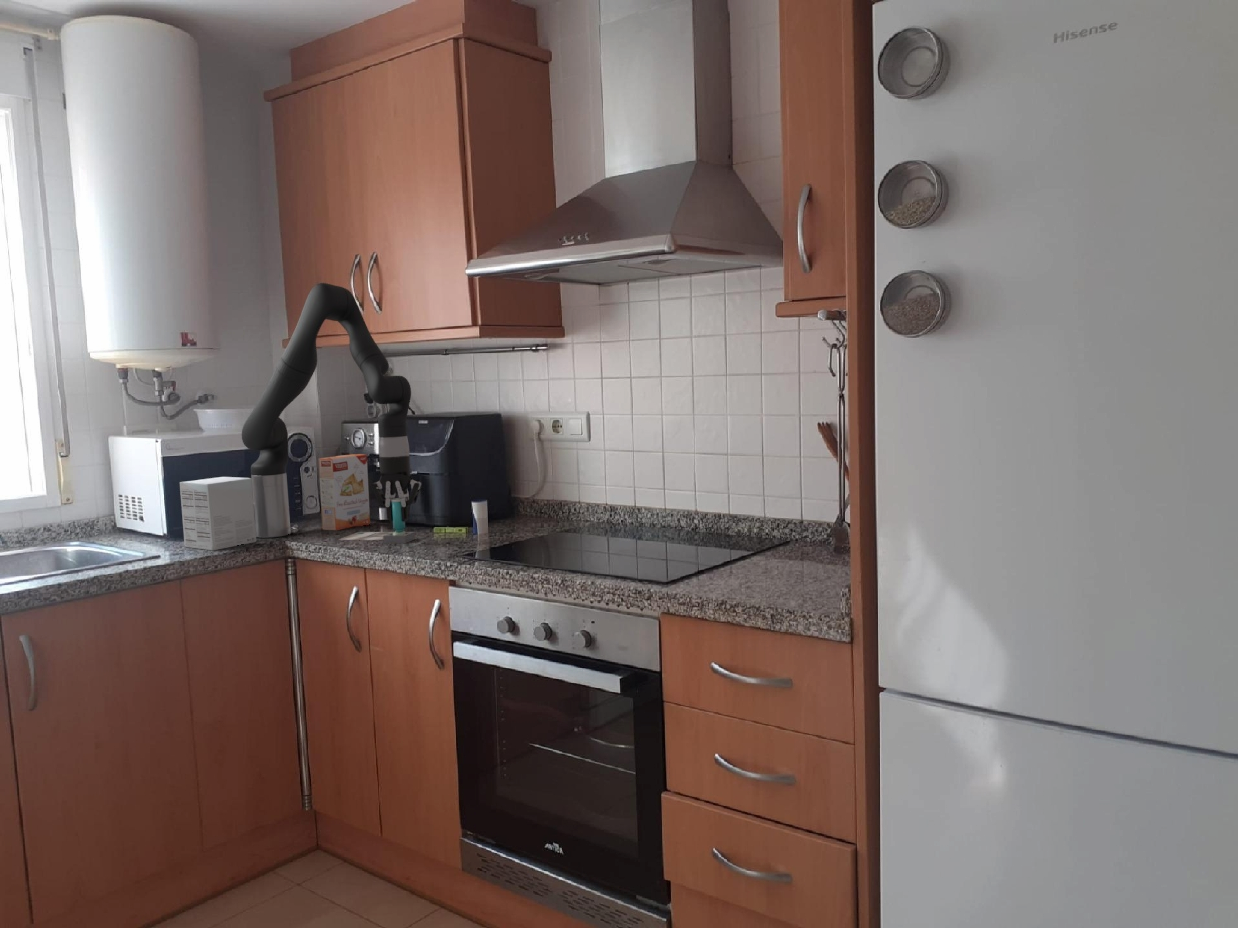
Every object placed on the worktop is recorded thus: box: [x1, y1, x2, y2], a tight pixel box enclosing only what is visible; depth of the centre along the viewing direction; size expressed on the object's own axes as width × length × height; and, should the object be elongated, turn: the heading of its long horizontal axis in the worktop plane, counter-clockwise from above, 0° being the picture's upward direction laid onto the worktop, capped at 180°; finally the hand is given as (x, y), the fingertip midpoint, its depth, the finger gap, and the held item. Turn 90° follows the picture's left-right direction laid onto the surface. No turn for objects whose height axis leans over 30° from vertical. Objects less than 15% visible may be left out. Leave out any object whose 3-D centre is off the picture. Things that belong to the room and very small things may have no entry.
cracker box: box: [318, 453, 371, 531], centre depth 281 cm, size 14×6×21 cm, turn 152°
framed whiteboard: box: [337, 531, 393, 541], centre depth 263 cm, size 16×13×1 cm
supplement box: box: [179, 476, 257, 551], centre depth 261 cm, size 13×13×18 cm
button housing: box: [382, 531, 416, 544], centre depth 253 cm, size 6×6×2 cm
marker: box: [391, 497, 406, 533], centre depth 252 cm, size 3×3×9 cm
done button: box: [392, 530, 406, 535], centre depth 253 cm, size 3×3×3 cm
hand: (398, 520), depth 252 cm, fingers closed on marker, 3 cm apart
